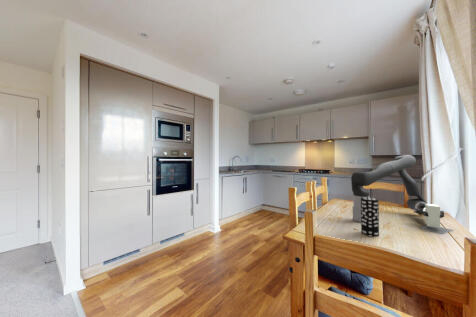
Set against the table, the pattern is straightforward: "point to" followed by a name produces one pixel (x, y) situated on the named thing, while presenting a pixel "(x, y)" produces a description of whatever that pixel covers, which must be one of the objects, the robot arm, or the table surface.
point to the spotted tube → (370, 216)
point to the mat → (436, 229)
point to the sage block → (432, 215)
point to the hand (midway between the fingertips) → (434, 215)
